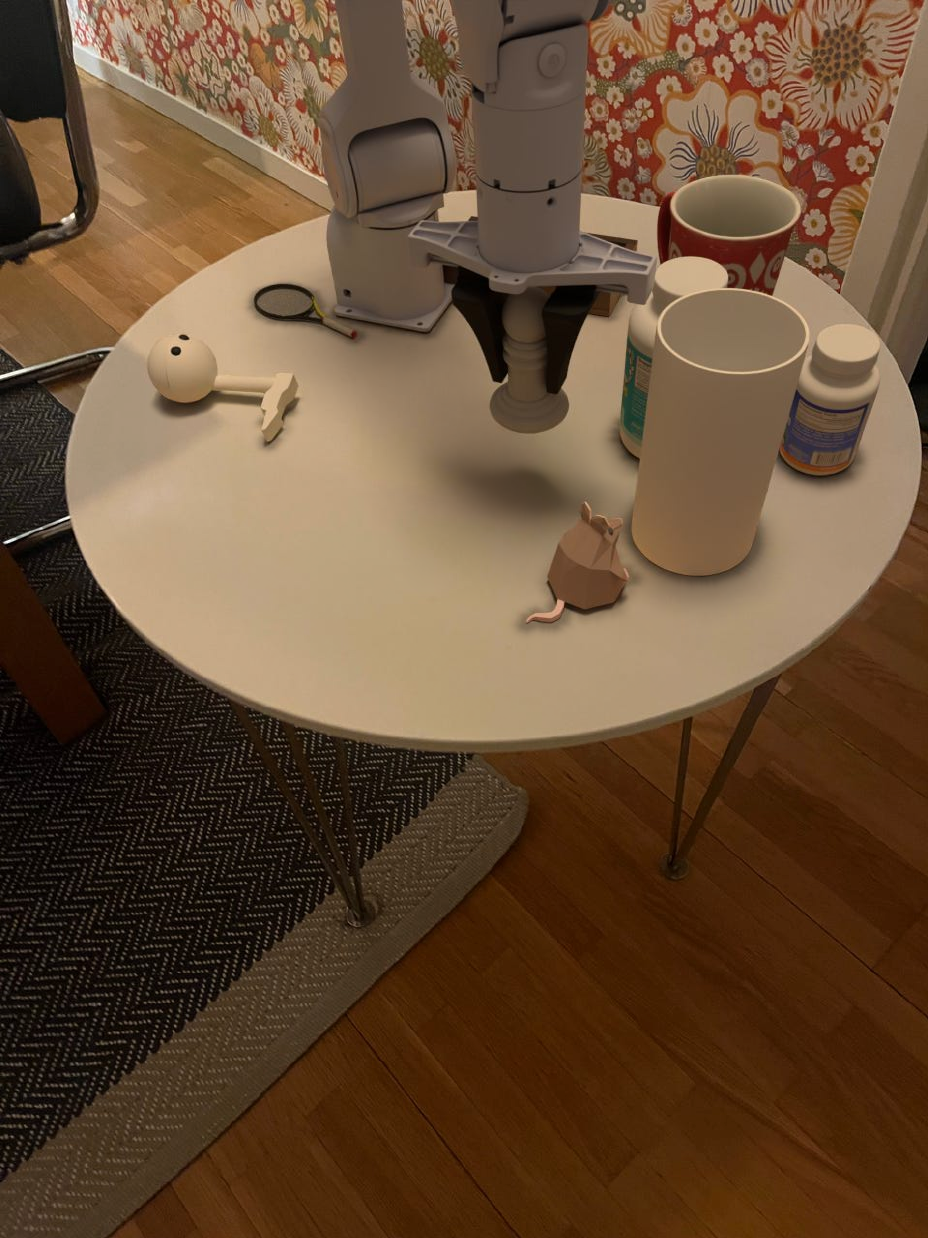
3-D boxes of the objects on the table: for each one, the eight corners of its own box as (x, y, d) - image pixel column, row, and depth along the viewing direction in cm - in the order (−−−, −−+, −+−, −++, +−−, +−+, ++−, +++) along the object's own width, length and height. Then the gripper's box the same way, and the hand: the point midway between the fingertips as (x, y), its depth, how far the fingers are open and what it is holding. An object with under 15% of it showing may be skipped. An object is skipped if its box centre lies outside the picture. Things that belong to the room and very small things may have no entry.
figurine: (149, 317, 72) (287, 321, 69) (177, 367, 76) (307, 373, 74) (112, 390, 68) (256, 398, 65) (144, 438, 72) (279, 447, 70)
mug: (785, 382, 70) (829, 217, 60) (684, 413, 69) (712, 249, 58) (702, 302, 78) (729, 143, 68) (610, 329, 76) (623, 170, 66)
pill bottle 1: (647, 396, 70) (667, 233, 60) (734, 427, 67) (771, 262, 57) (599, 449, 67) (612, 286, 56) (688, 484, 64) (719, 319, 53)
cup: (725, 593, 57) (779, 391, 45) (611, 548, 61) (631, 347, 48) (770, 514, 62) (831, 309, 49) (661, 476, 65) (691, 274, 52)
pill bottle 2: (798, 418, 67) (826, 306, 60) (867, 443, 65) (906, 330, 57) (764, 460, 65) (789, 350, 57) (835, 488, 63) (870, 376, 55)
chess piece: (500, 443, 58) (498, 322, 51) (481, 393, 61) (477, 274, 54) (578, 428, 58) (587, 307, 51) (556, 380, 62) (561, 260, 55)
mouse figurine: (500, 599, 58) (497, 528, 53) (591, 542, 61) (596, 468, 56) (552, 648, 56) (554, 577, 50) (644, 585, 58) (655, 512, 53)
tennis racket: (240, 298, 82) (280, 274, 84) (242, 305, 82) (282, 281, 85) (332, 344, 76) (373, 317, 78) (334, 351, 77) (374, 324, 79)
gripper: (374, 184, 47) (403, 393, 58) (641, 222, 43) (619, 440, 53) (427, 127, 51) (445, 333, 61) (677, 157, 47) (650, 372, 57)
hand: (529, 378), depth 58 cm, fingers closed on chess piece, 3 cm apart
